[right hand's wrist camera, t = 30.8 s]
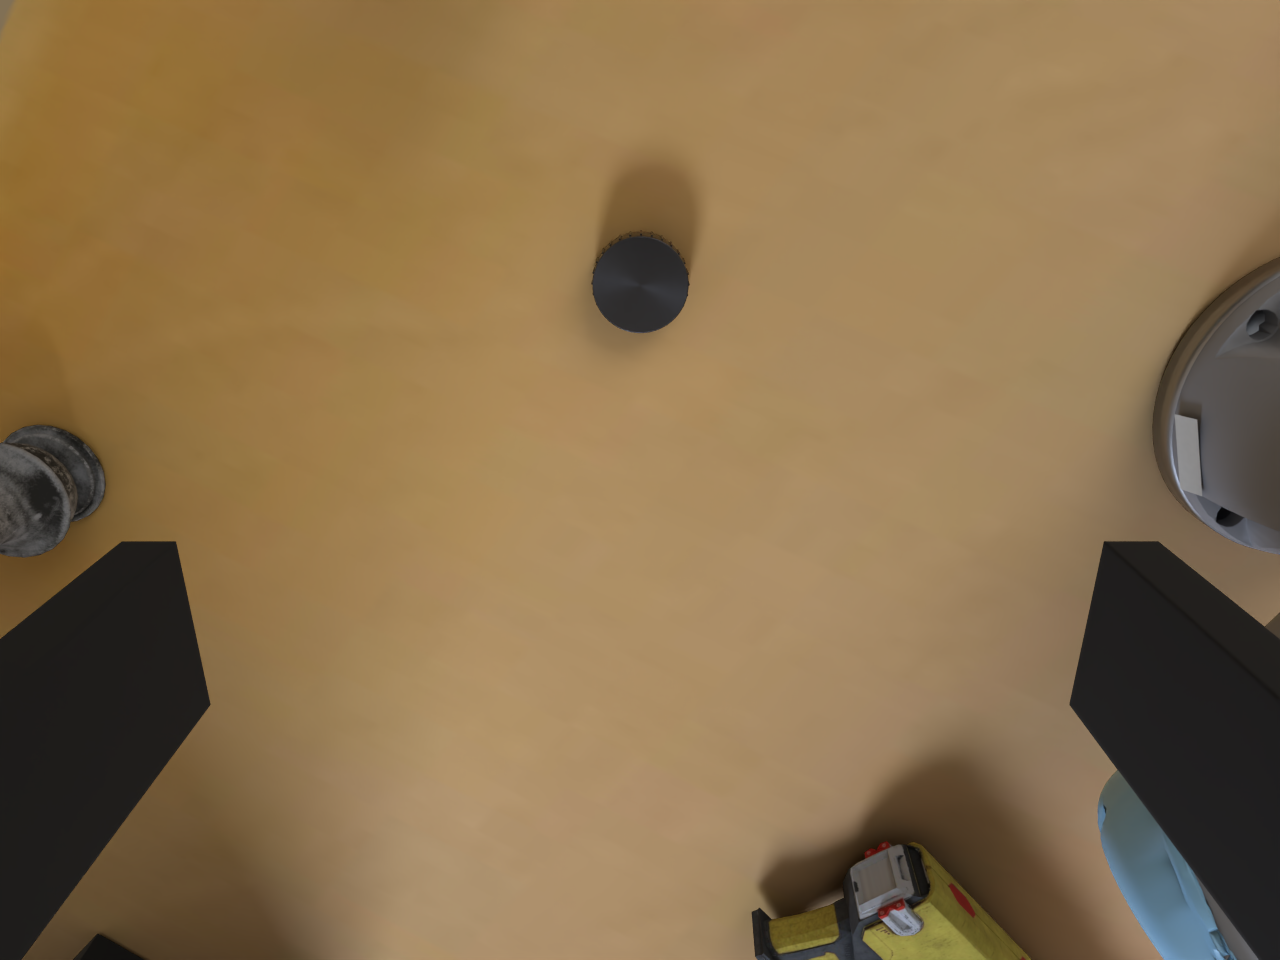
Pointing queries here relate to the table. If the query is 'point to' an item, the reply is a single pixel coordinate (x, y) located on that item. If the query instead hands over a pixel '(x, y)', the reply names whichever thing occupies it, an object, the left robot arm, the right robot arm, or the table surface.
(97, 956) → the cardboard box
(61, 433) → the salt shaker
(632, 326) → the cap
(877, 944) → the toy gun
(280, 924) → the table surface
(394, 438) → the table surface
